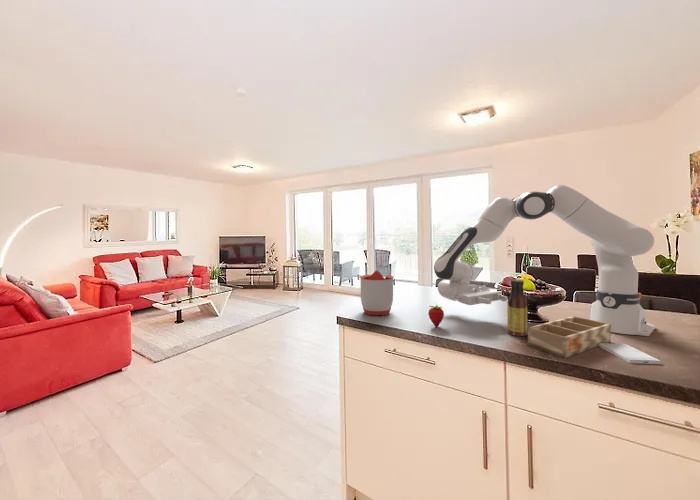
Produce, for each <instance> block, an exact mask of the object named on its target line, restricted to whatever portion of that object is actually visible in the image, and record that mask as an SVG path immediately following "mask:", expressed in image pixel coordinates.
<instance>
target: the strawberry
mask: <svg viewBox="0 0 700 500" xmlns="http://www.w3.org/2000/svg"><path fill="white" fill-rule="evenodd" d="M428 307H429V308H430V309H429V310H428V318H429V319H430V322H431V323H432V325H434V327H436V328H438V327H439V325H440V324H441V323H442V321H443V319H444V316H445V312H444V310H443V309H442V308H443V307H442V306H438V304H437V303H435V306H434V305H429V306H428Z"/></svg>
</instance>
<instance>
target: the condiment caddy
mask: <svg viewBox="0 0 700 500" xmlns="http://www.w3.org/2000/svg"><path fill="white" fill-rule="evenodd" d="M611 336H612V332H611V324H608V323H603V322H599V321H594V320H590V318H586V317H585V318H584V317H581V316H576V315H575V316H574V315H573V316H568V317H564V318H562V319H561V318H560V319H557V320H552V321H548V322H544V323H540V324H537V325H533V326H529V327H528V326H527V346H529V347H532V348H535V349H537V350H541V351H543V352H546V353H549V354H552V355H556V356H557V357H561V358H564V359H566V358H569V357H571V356H575V355H577V354H581V353H583V352H586V351H588V350H591V349H594V348H598V347H599V343H611V338H612V337H611Z"/></svg>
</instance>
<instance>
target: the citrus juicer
mask: <svg viewBox="0 0 700 500" xmlns="http://www.w3.org/2000/svg"><path fill="white" fill-rule="evenodd" d="M359 278H360V301H361V306H362V309H363V312H364V314H366V315H369V316H379V315H383V316H385V315H388V314H390V312H391V309H392V306H393V301H394V276H392V275H385V276H383V275H382V273H381V272H380V271H379V270H374V272H373V273H372V274H365V275H360V276H359Z"/></svg>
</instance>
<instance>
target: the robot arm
mask: <svg viewBox="0 0 700 500" xmlns="http://www.w3.org/2000/svg"><path fill="white" fill-rule="evenodd" d="M549 213H551V214H554V215H555V216H556V217H558V218H559V219H560V220H561V221H563V222H565V224H568V225H569V226H570V227H571V228H573V229H574V230H576V231H577V232H579V233H581V234H583V235H585V236H587V237H588V238H590V243H591V246H592V247H593V250H594V253H595V258H596V263H597V267H598V277H597V278H598V280H597V282H598V285H597V290H596V292H595V296H596V297H595V299H596V300H595V301H594V302H591V303H592V304H591V309H590V317H589V319H590V320H594V321H599V322H603V323H608V324H611V333H614V334H621V335H633V336H634V335H637V336H642V337H643V336H644V337H650V336H651V335H652V333H653V331H654V330H655V329H656V326H655V325H654V324H651V323H647V321H648V314H647V313H648V312H647V311H646V310H645V309H644V308H643V307H642V305H641V304H640V303H641V298H642V297H643V296H642V295H643V294H642V293H641V292H638V288H639V271H638V270H637V268H636V267H635V264H634V261H633V258H632V257H635V256H636V257H637V256H642V255H644V254H646V253H648V252H649V251H651V250H652V249H653V247H654V246H655V245H654V244H655V237H654V235H653V233H651V231H649V230H648V229H645V228H643V227H641V226H639V225H636V224H634V223H632V222H630V221H629V220H626V219H625V218H623V217H621V216H619V215H616V214H614V213H613V212H610V211H608V210H607V209H605V208H603V207H601V206H600V205H599V204H597V203H595V202H594V201H593V200H591V199H590V198H588V197H587V196H586V195H584V194H583V193H581V192H579V191H578V190H576V189H574V188H571V187H569V186H567V185H565V184H557V185H555V186H553V187H551V188H549V190H547V192H542V191H541V192H540V191H527V192H523V193H521V194H519V195H517V196H515V197H513V198H512V199H509V198H507V197H503V196H499V197H496V198H494V199H493V200H492V201H491V203H489V205H488V206H487V207H486V208H485V210H483V212H482V214H481V215H480V217H479V218H478V219H477V220H476V221H475V222H474V223H473V224H472V225H470V226H468V227H467V228H465V229H464V230H463V231H462V232H461V233H460V234H459V236H458V237H457V238H456V239H455V240H454V242H453V243H452V244H451V245H450V247H448V249H447V250H446V251H445V252H444V253H443V254H442V255H441V256H440V257H438V259H436V261H435V262H434V265H433V270H434V271H433V272H434V274H435V276H436V277H437V278H438V279H441V281H439V283H437V291H438V293H439V295H440V296H441V297H443V298H445V299H447V300H450V301H454V302H459V303H461V304H464V305H466V306H467V305H468V306H474V305H479V304H485V305H491V304H492V302H496V301H501V302H508V299H509V296H506V295H504V294H503V295H502V291H503V290H501V291H497V290H498V289H497V288H493V287H487V286H486V285H484V284H473V283H471V281H472V278H473V275H474V273H473V268H472V266H471V265H470V264H468V263H467V262H463V261H459V259H460V257H462V256H463V254H464V253H465V252H466V251H467V250H468V248H470V247H471V246H472V245H476V244H481V243H482V244H484V243H485V244H487V243H492V242H495V241H496V240H497V239H499V238H500V237H501V235H502V234H503V232H504V231H505V230H506V228H507V227H508V225H509V224H510V222H511V221H512V220H513V219H515V218H521V219H524V220H536V219H540V218H542V217H544V216H546V215H548V214H549ZM496 289H497V290H496Z"/></svg>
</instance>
